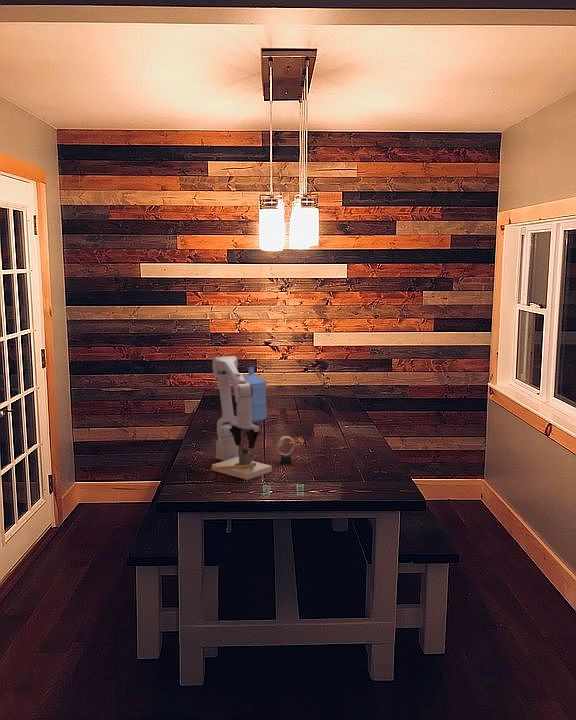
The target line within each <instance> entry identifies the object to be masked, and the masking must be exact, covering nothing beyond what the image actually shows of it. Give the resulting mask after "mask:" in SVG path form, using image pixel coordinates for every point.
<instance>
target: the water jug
mask: <svg viewBox="0 0 576 720" xmlns="http://www.w3.org/2000/svg"><path fill="white" fill-rule="evenodd" d="M247 369H248V370H247V371H248V374H247V375H246V376H243V377H244V378H245V380H246V382H249V383H251V384H252V387H253V396H252V397H251V422H252V423H257V422H262V421H265V420H267V418H268V414H267V403H268V402H267V380H266V379H264V378H262V377H260V376H258V375H255V367H254V366H249V367H248V368H247Z"/></svg>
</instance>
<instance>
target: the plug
mask: <svg viewBox="0 0 576 720" xmlns="http://www.w3.org/2000/svg"><path fill="white" fill-rule="evenodd" d="M252 457H253V456H252V451H249V447H248V448H247V447H243V448H242V449H241V451H240V452H239V463H236V464H235V466H236V465H249V463H253V462H252V461H253V459H252ZM254 466H256V463H254ZM244 469H247V468H244Z"/></svg>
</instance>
